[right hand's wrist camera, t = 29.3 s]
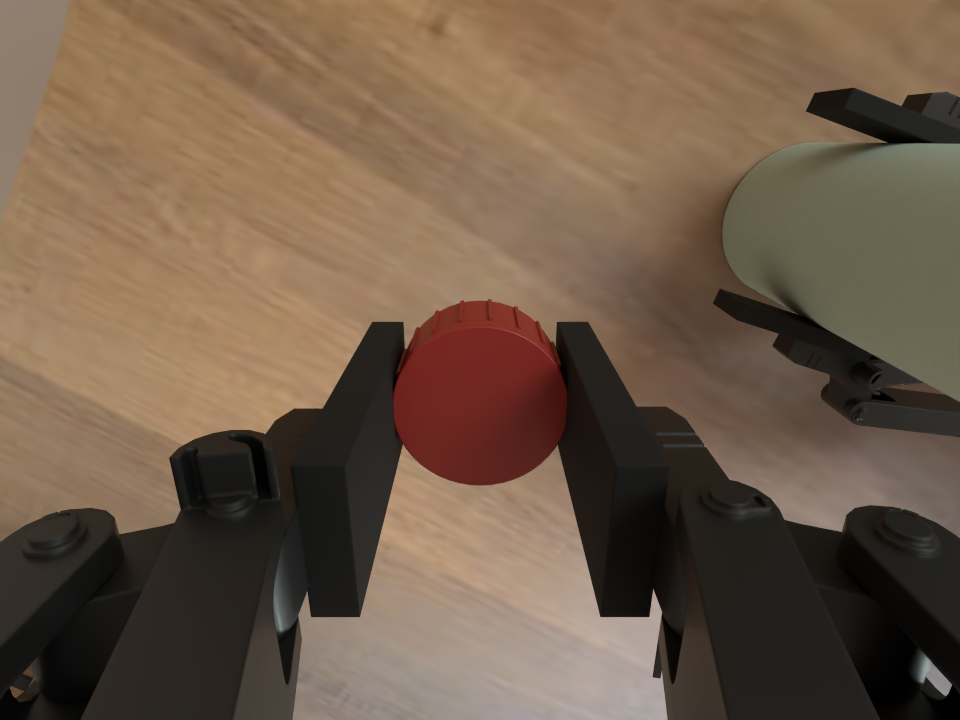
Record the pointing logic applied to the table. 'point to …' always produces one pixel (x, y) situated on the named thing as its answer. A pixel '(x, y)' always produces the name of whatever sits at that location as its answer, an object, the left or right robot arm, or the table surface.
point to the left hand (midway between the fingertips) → (775, 208)
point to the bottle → (859, 247)
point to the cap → (480, 394)
